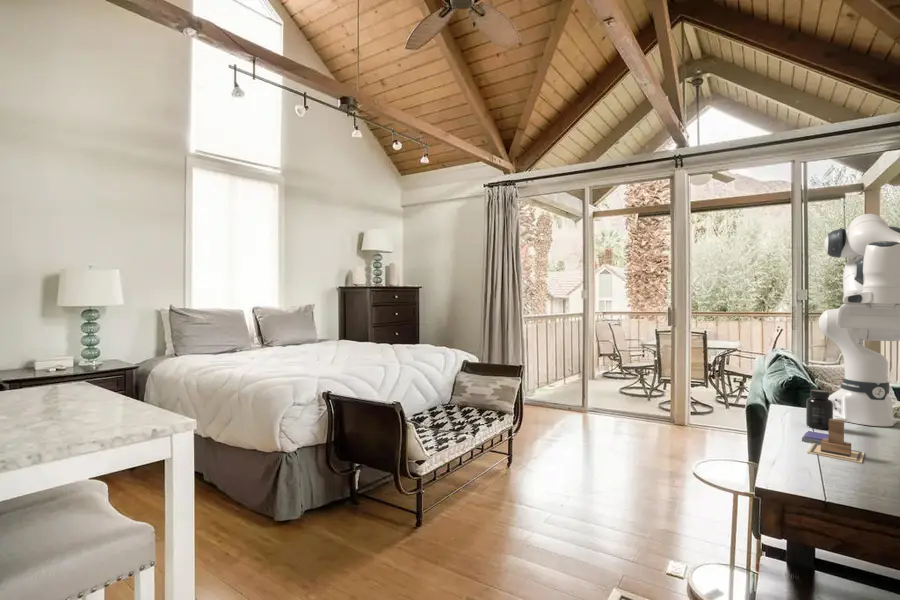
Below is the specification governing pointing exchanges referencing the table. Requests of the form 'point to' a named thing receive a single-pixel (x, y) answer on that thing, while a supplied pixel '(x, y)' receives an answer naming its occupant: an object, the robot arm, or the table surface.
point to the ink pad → (814, 437)
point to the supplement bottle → (819, 410)
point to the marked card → (854, 457)
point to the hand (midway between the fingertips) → (881, 345)
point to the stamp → (836, 439)
